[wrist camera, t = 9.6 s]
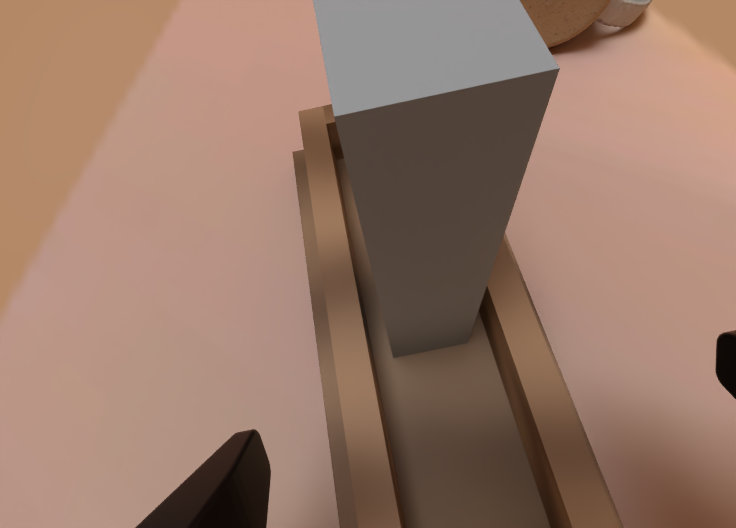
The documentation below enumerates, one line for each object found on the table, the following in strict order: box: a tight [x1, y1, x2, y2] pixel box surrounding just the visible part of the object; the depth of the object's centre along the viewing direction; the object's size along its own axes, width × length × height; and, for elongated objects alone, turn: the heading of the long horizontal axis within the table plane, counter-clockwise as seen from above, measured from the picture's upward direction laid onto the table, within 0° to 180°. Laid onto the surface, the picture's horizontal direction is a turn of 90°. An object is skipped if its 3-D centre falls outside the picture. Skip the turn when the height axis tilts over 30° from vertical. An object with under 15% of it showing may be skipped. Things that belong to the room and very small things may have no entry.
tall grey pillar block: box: [313, 0, 560, 358], centre depth 12 cm, size 4×3×12 cm
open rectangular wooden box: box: [293, 104, 623, 528], centre depth 17 cm, size 20×9×4 cm, turn 10°
